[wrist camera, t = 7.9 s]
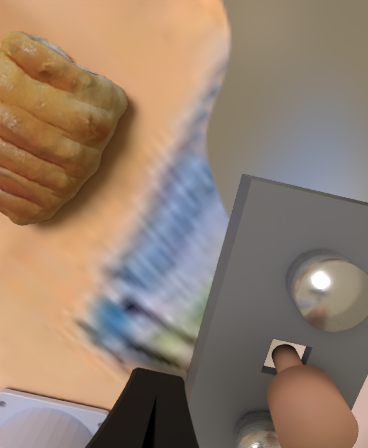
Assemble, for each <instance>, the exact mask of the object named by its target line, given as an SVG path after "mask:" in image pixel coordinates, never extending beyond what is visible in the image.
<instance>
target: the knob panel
mask: <svg viewBox="0 0 368 448" xmlns="http://www.w3.org/2000/svg"><path fill="white" fill-rule="evenodd" d="M314 249H330V250H333V251H335V252H338V253H339V254H341V255H342V256H344V257H345V258H346V259H348V260H349V261H350V262H352V263H353V264H354V265H356V266H357V267H358V268H360V269H361V270H362V271H364V272H365V273H366V274H367V275H368V203H367V202H362V201H358V200H354V199H349V198H345V197H340V196H336V195H332V194H328V193H323V192H319V191H315V190H310V189H306V188H302V187H298V186H293V185H289V184H284V183H280V182H276V181H272V180H268V179H263V178H258V177H255V176H250V175H246V174H242V177H241V181H240V184H239V188H238V192H237V195H236V199H235V203H234V207H233V210H232V214H231V217H230V221H229V225H228V228H227V232H226V235H225V239H224V243H223V246H222V250H221V254H220V257H219V261H218V265H217V268H216V272H215V276H214V279H213V283H212V287H211V290H210V294H209V298H208V301H207V305H206V309H205V312H204V316H203V320H202V323H201V327H200V331H199V334H198V338H197V342H196V345H195V349H194V353H193V356H192V360H191V364H190V367H189V371H188V375H187V378H186V382H185V391H186V397H187V402H188V407H189V411H190V415H191V419H192V423H193V427H194V431H195V435H196V438H197V442H198V445H199V448H235V444H234V436H233V431H234V427H235V425H236V423H237V422H238V421H239V420H240V419H241V418H242V417H243V416H245V415H246V414H247V412H250V413H252V412H257V411H266V412H270V409H269V406H268V402H267V397H266V393H267V388H268V385H269V383H270V381H271V380H272V379H273V377H274V376H275V375H276V374H278V373H277V371H276V368H271V367H267V366H263V365H264V362H265V360H266V357H267V354H268V351H269V348H270V345H271V342H272V340H273V339H277V340H281V341H286V342H290V343H295V344H299V345H304V346H306V349H305V351H304V354H303V356H302V359H301V361H302V363H303V365H310V366H314V367H317V368H320V369H322V370H323V371H325V372H326V373H327V374H328V375H329V376H330V377H331V378H332V380H333V381H334V383H335V385H336V386H337V388H338V390H339V392H340V393H341V395H342V397H343V398H344V400H345V402H346V404H347V405H348V407H349V409H350V410H352V408H353V405H354V403H355V401H356V399H357V397H358V394H359V392H360V390H361V388H362V386H363V383H364V381H365V379H366V377H367V375H368V316H367V317H366V318H365V319H364V320H363V321H362V322H360V323H359V324H358V325H356V326H354V327H352V328H350V329H347V330H344V331H337V332H329V331H323V330H320V329H318V328H315V327H314V326H312V325H311V324H309V323H308V322H307V321H306V320H305V318H304V317H303V315H302V314H301V312H300V310H299V309H298V307H297V306H296V304H295V303H294V301H293V299H292V298H291V296H290V295H289V293H288V291H287V287H286V275H287V271H288V269H289V267H290V265H291V264H292V263H293V261H294V260H295V259H296V258H298V257H299V256H300V255H302V254H303V253H305V252H307V251H310V250H314Z"/></svg>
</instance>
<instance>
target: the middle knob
mask: <svg viewBox="0 0 368 448" xmlns="http://www.w3.org/2000/svg"><path fill="white" fill-rule="evenodd" d="M272 359H273V362H274V365H275V367H276V371H277V373H278V374H276V375H275V376H274V377H273V379H272V380H271V381H270V383H269V385H268V388H267V393H266V397H267V402H268V406H269V409H270V413H271V416H272V420H273V423H274V427H275V431H276V434H277V438H278V441H279V444H280V446H281V448H352V447H353V446H354V444H355V442H356V440H357V437H358V424H357V421H356V419H355V417H354V415H353V414H352V412H351V410H350V409H349V407H348V405H347V404H346V402H345V400H344V398H343V397H342V395H341V393H340V392H339V390H338V388H337V386H336V385H335V383H334V381H333V380H332V378H331V377H330V376H329V375H328V374H327V373H326V372H325V371H323V370H322V369H320V368H317V367H314V366H310V365H303V363H302V361H301V359H300V357H299V355H298V353H297V351H296V349H295V348H294V347H293V346H291V345H288V344H283V345H279V346H277V347H276V348H275V349H274V350H273V352H272Z"/></svg>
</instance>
